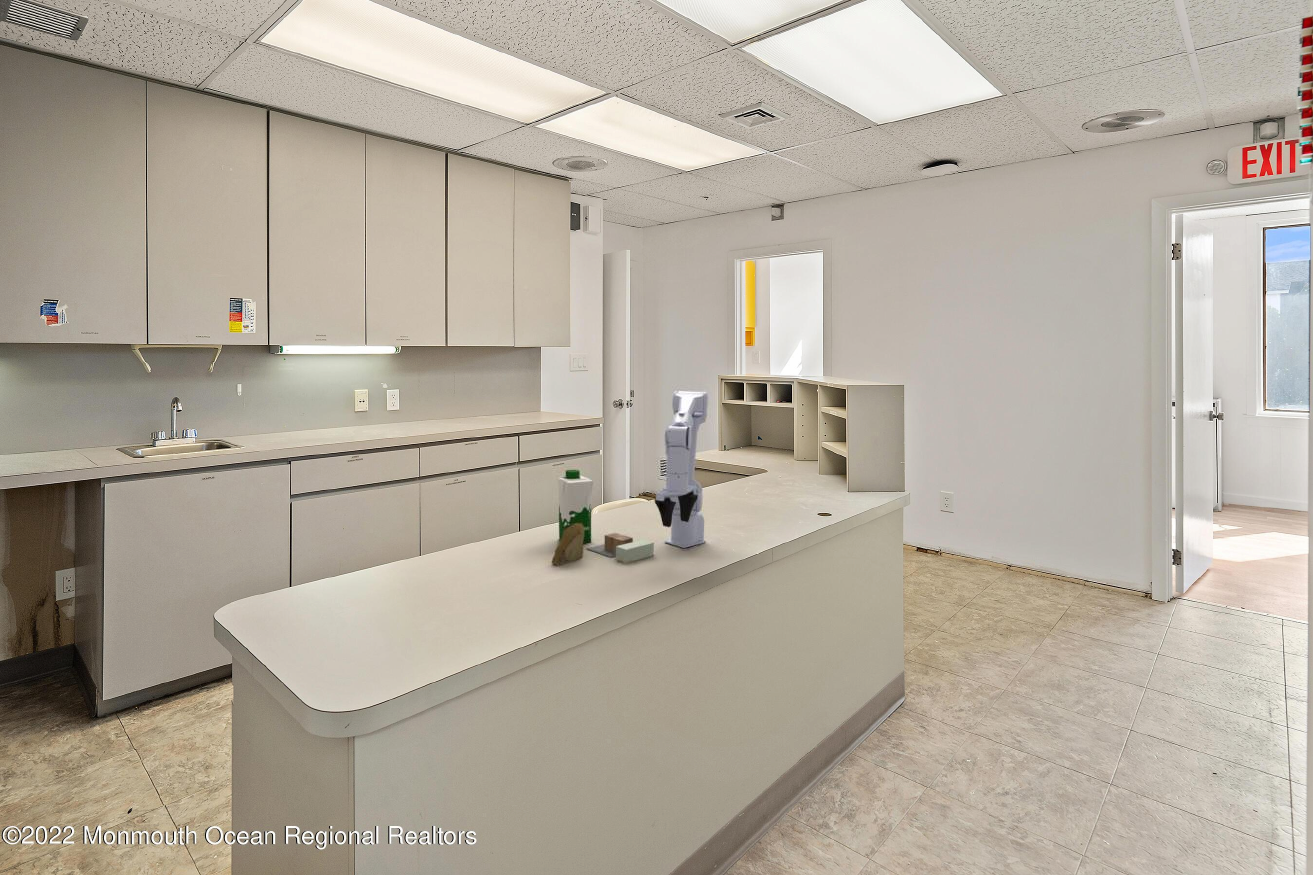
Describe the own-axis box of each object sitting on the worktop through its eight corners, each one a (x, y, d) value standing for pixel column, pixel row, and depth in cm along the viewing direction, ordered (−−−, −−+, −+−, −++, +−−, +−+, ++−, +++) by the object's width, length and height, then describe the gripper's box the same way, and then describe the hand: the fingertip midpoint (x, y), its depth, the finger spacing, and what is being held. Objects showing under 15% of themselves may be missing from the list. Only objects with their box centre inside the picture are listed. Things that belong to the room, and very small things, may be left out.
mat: (616, 542, 196) (616, 541, 196) (640, 549, 189) (640, 548, 189) (586, 549, 189) (586, 548, 189) (610, 557, 182) (610, 556, 181)
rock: (557, 560, 170) (593, 550, 175) (546, 529, 173) (582, 520, 178) (548, 575, 179) (583, 565, 184) (537, 545, 182) (572, 536, 187)
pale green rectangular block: (643, 552, 187) (643, 539, 187) (653, 555, 184) (653, 542, 184) (615, 559, 180) (615, 546, 180) (626, 562, 177) (626, 549, 177)
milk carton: (582, 535, 203) (583, 468, 201) (595, 542, 195) (596, 473, 193) (554, 538, 199) (555, 470, 196) (567, 546, 191) (567, 475, 188)
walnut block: (632, 552, 186) (615, 546, 191) (632, 537, 185) (615, 532, 190) (621, 555, 183) (604, 549, 188) (621, 540, 182) (604, 535, 187)
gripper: (682, 467, 185) (680, 516, 187) (647, 473, 174) (646, 525, 176) (703, 470, 181) (701, 520, 183) (669, 477, 170) (667, 530, 171)
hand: (675, 523), depth 179 cm, fingers open, 7 cm apart
